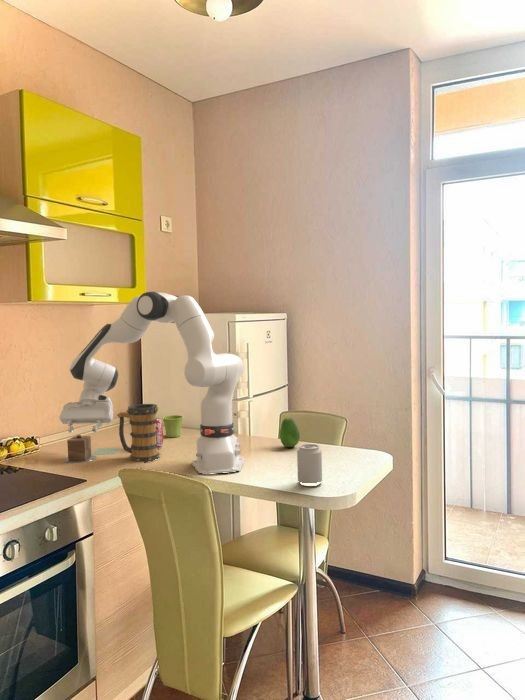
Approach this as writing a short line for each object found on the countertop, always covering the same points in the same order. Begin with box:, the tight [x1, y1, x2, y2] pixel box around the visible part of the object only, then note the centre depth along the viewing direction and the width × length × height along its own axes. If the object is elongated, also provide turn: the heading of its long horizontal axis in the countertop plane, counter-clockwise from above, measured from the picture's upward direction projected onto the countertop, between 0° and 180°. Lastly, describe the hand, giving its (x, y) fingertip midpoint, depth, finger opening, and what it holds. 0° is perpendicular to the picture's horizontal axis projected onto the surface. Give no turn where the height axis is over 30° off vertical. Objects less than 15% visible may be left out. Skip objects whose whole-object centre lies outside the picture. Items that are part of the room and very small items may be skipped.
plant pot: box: [162, 414, 184, 438], centre depth 248 cm, size 9×9×9 cm
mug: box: [116, 403, 161, 463], centre depth 209 cm, size 13×17×20 cm
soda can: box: [155, 417, 164, 450], centre depth 225 cm, size 7×7×12 cm
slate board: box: [63, 455, 97, 464], centre depth 210 cm, size 12×12×1 cm
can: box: [296, 443, 323, 483], centre depth 170 cm, size 8×8×12 cm
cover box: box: [66, 434, 92, 461], centre depth 210 cm, size 6×6×9 cm
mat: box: [91, 447, 123, 456], centre depth 221 cm, size 10×10×1 cm
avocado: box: [279, 417, 301, 448], centre depth 219 cm, size 8×8×12 cm
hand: (82, 431), depth 213 cm, fingers open, 8 cm apart
